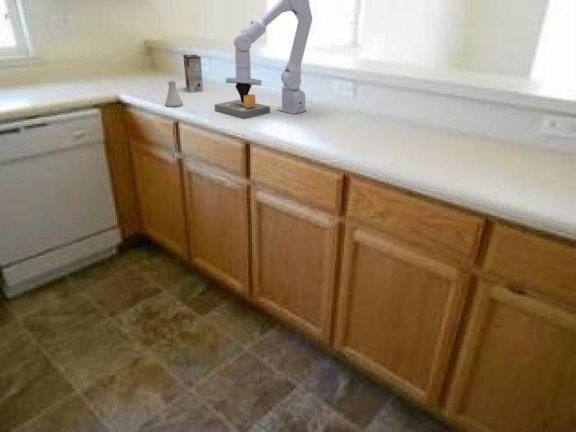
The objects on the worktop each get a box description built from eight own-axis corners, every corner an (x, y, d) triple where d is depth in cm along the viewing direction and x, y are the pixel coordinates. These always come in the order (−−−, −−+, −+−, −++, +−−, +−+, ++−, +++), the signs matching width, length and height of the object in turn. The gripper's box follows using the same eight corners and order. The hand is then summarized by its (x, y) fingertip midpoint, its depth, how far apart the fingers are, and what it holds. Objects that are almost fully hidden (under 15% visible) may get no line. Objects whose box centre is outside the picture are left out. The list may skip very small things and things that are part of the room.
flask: (161, 106, 189) (159, 81, 185) (173, 102, 195) (170, 79, 190) (175, 108, 186) (172, 83, 182) (186, 104, 192) (184, 80, 187)
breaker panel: (269, 112, 182) (269, 106, 180) (244, 118, 172) (243, 111, 171) (240, 105, 193) (240, 98, 191) (214, 110, 183) (214, 103, 182)
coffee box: (185, 89, 221) (182, 54, 214) (198, 88, 224) (196, 54, 216) (190, 92, 214) (187, 57, 207) (203, 91, 216) (201, 56, 209)
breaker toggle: (255, 106, 179) (255, 95, 177) (247, 108, 176) (247, 96, 174) (251, 105, 180) (251, 94, 178) (243, 107, 178) (243, 95, 176)
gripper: (264, 67, 175) (264, 101, 181) (230, 64, 179) (231, 99, 185) (257, 69, 169) (258, 105, 175) (222, 67, 173) (224, 102, 179)
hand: (244, 102), depth 180 cm, fingers closed
